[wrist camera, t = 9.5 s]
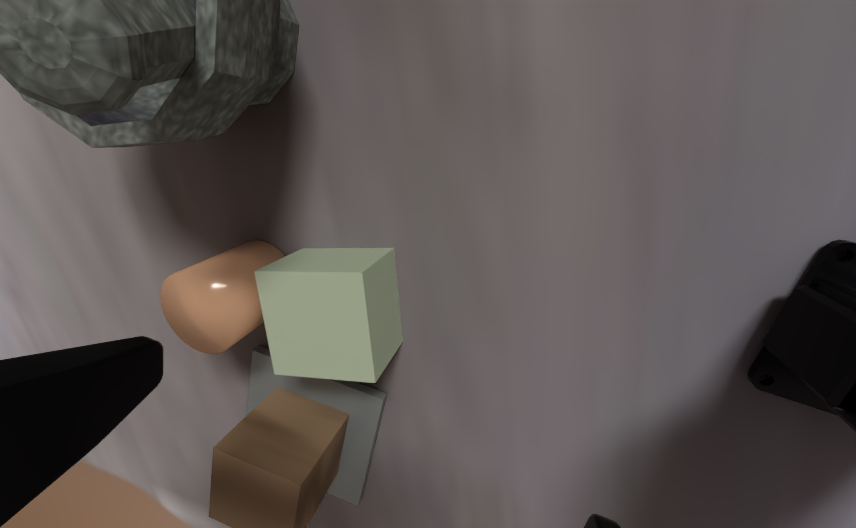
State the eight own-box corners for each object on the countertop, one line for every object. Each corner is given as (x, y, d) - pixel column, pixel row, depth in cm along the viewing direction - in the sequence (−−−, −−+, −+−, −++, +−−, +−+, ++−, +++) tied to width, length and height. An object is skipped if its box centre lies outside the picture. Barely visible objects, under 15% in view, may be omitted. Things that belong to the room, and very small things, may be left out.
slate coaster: (387, 393, 22) (383, 400, 22) (361, 498, 25) (357, 506, 24) (259, 345, 24) (252, 350, 23) (248, 449, 26) (242, 456, 26)
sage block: (394, 247, 20) (362, 272, 16) (403, 340, 21) (375, 383, 18) (303, 247, 21) (253, 271, 17) (317, 335, 23) (274, 374, 19)
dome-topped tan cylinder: (265, 226, 21) (192, 256, 17) (310, 291, 21) (250, 335, 17) (221, 260, 22) (145, 295, 19) (264, 319, 23) (200, 365, 19)
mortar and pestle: (129, 74, 21) (-347, 0, 10) (181, -138, 17) (-479, -649, 6) (309, 198, 20) (27, 273, 9) (401, 5, 17) (123, -264, 5)
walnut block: (337, 474, 24) (289, 553, 19) (270, 446, 25) (209, 516, 20) (349, 414, 23) (300, 485, 18) (277, 386, 23) (213, 447, 19)
